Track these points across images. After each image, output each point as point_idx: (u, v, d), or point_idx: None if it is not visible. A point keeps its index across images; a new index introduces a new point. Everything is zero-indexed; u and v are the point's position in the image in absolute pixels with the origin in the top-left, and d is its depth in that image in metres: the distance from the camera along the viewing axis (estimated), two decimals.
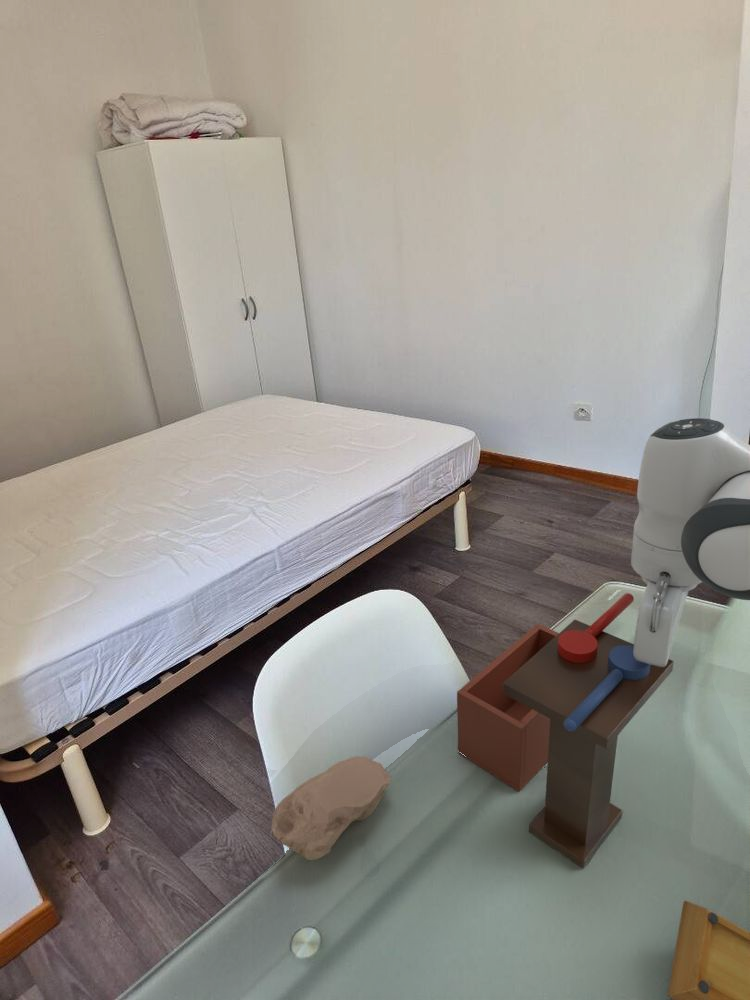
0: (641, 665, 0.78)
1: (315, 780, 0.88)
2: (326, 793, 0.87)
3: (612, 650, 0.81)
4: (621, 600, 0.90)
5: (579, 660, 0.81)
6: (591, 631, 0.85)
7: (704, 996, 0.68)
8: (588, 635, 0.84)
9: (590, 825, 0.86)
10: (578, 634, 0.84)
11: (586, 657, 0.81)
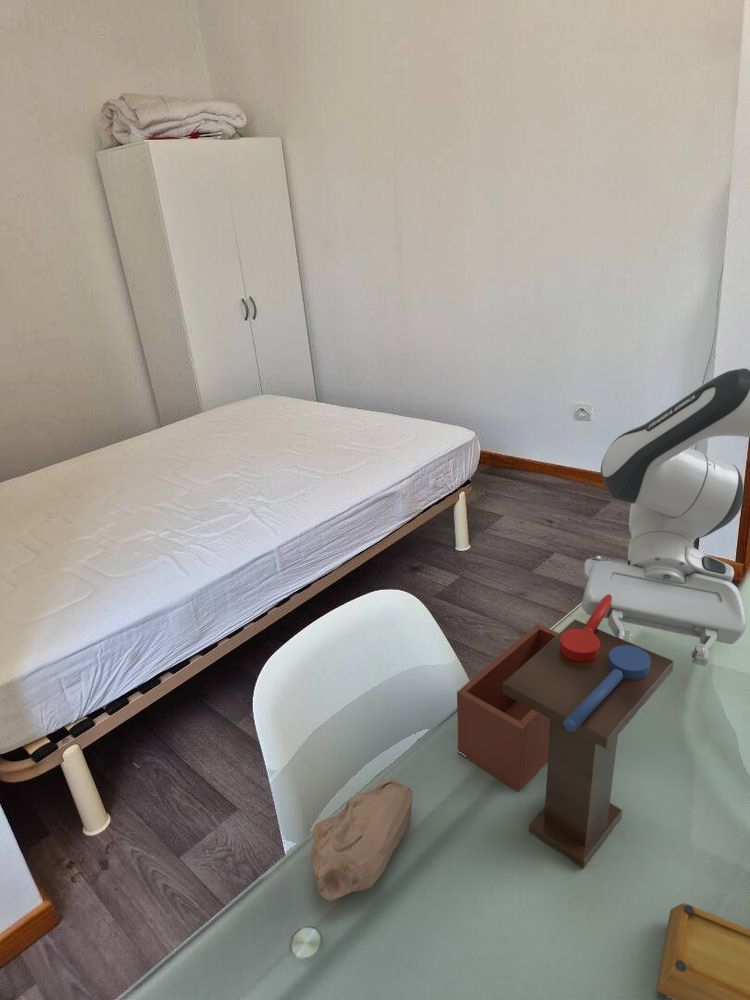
0: (641, 665, 0.78)
1: (379, 851, 0.83)
2: (380, 868, 0.83)
3: (612, 650, 0.81)
4: None
5: (585, 658, 0.81)
6: (589, 628, 0.85)
7: (683, 976, 0.70)
8: (588, 633, 0.84)
9: (590, 825, 0.86)
10: (578, 633, 0.84)
11: (591, 655, 0.81)
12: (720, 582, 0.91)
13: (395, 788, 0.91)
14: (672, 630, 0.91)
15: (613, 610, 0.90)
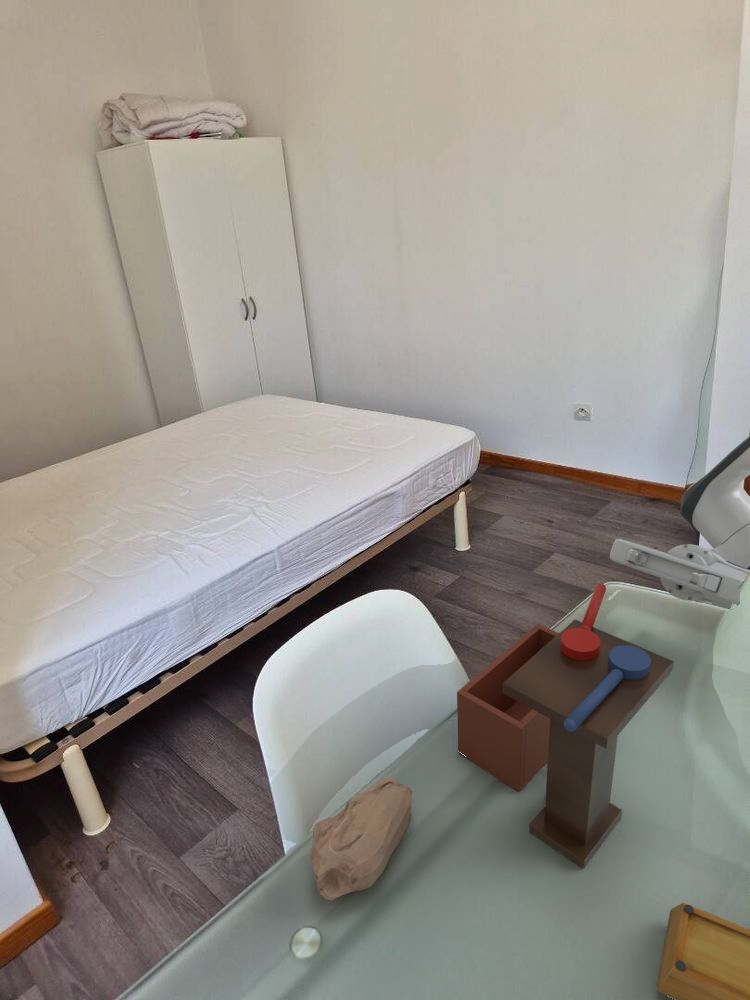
0: (641, 665, 0.78)
1: (378, 850, 0.83)
2: (379, 868, 0.83)
3: (612, 650, 0.81)
4: (598, 591, 0.92)
5: (588, 657, 0.82)
6: (587, 626, 0.85)
7: (683, 976, 0.70)
8: (586, 631, 0.85)
9: (590, 825, 0.86)
10: (577, 632, 0.85)
11: (593, 653, 0.82)
12: (738, 570, 1.02)
13: (394, 788, 0.91)
14: (682, 581, 1.01)
15: (633, 548, 1.05)
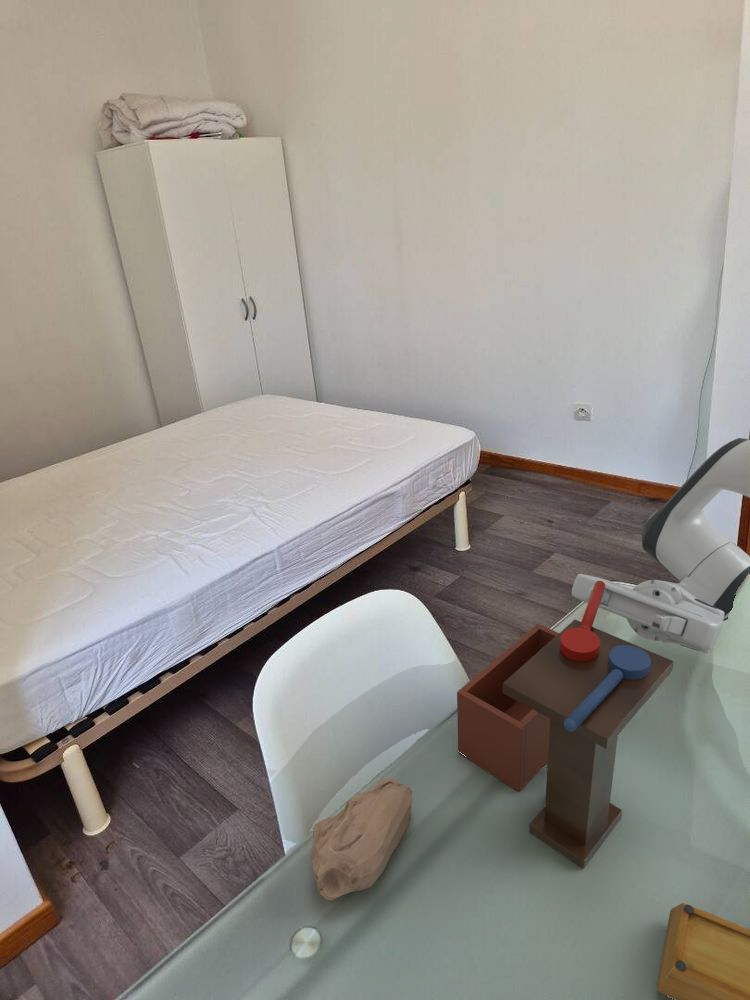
0: (641, 665, 0.78)
1: (378, 850, 0.83)
2: (379, 868, 0.83)
3: (612, 650, 0.81)
4: (597, 589, 0.92)
5: (588, 658, 0.81)
6: (586, 626, 0.85)
7: (683, 976, 0.70)
8: (586, 631, 0.84)
9: (590, 825, 0.86)
10: (576, 632, 0.84)
11: (593, 654, 0.82)
12: (706, 610, 0.95)
13: (394, 788, 0.91)
14: (646, 622, 0.94)
15: None
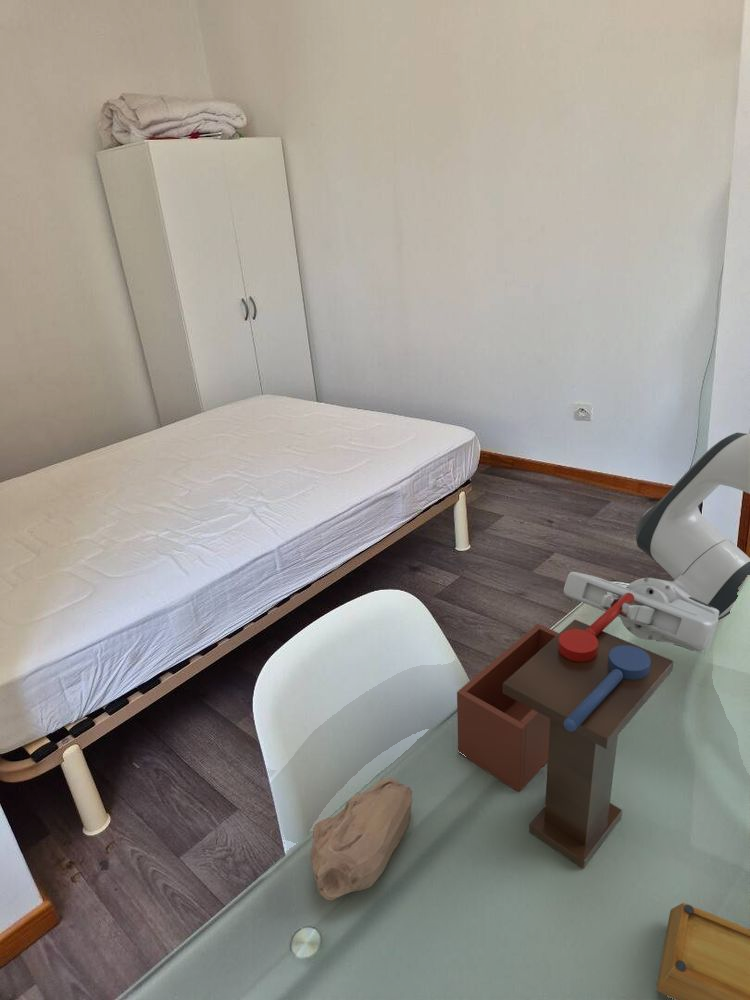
0: (641, 665, 0.78)
1: (378, 850, 0.83)
2: (379, 868, 0.83)
3: (612, 650, 0.81)
4: (622, 599, 0.90)
5: (580, 658, 0.81)
6: (592, 630, 0.85)
7: (683, 976, 0.70)
8: (589, 634, 0.84)
9: (590, 825, 0.86)
10: (579, 633, 0.84)
11: (586, 656, 0.81)
12: (701, 608, 0.93)
13: (394, 788, 0.91)
14: (639, 621, 0.92)
15: (610, 592, 0.94)
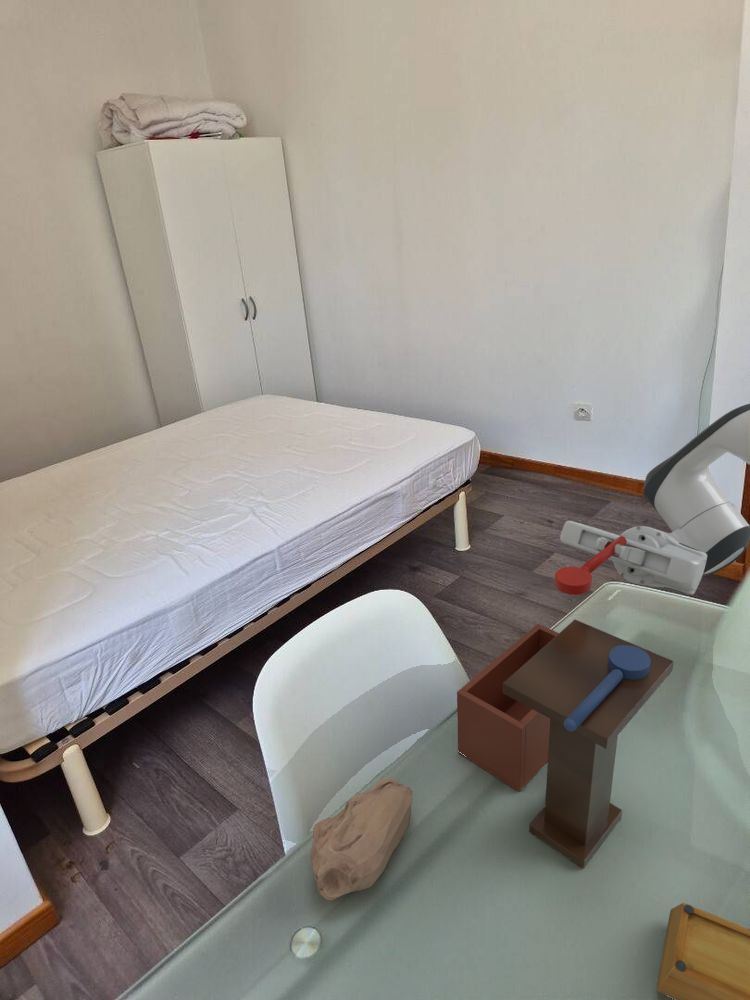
0: (641, 665, 0.78)
1: (378, 850, 0.83)
2: (379, 868, 0.83)
3: (612, 650, 0.81)
4: (615, 542, 0.95)
5: (575, 591, 0.87)
6: (586, 567, 0.90)
7: (683, 976, 0.70)
8: (583, 570, 0.89)
9: (590, 825, 0.86)
10: (574, 570, 0.90)
11: (581, 589, 0.87)
12: (689, 552, 0.98)
13: (394, 788, 0.91)
14: (631, 563, 0.97)
15: (604, 537, 1.00)
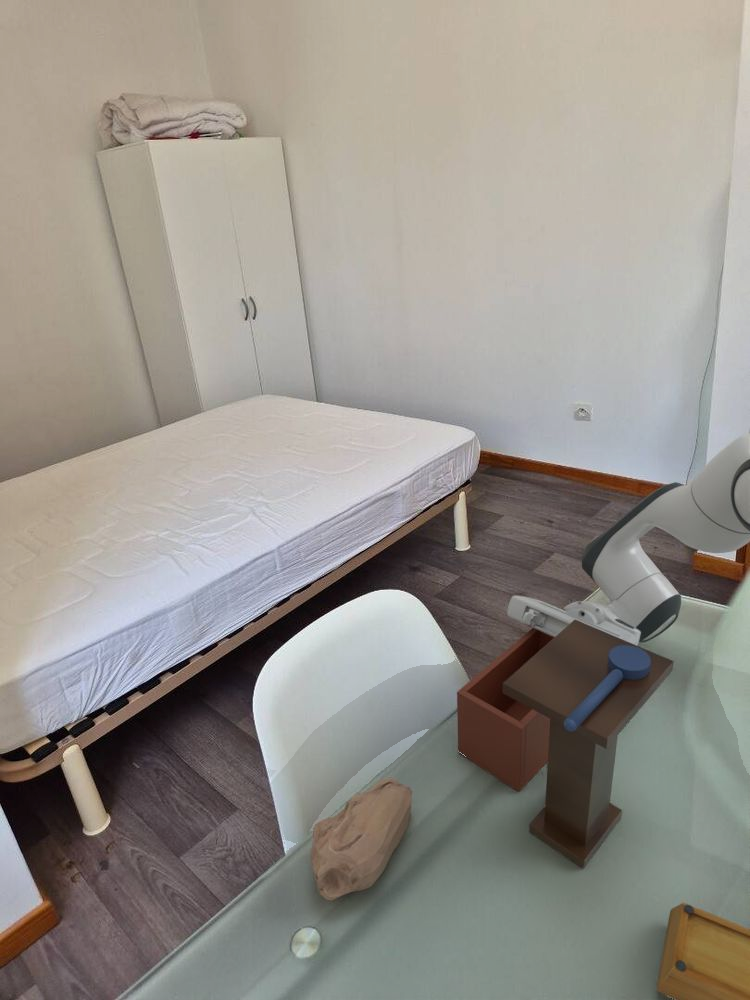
0: (641, 665, 0.78)
1: (378, 850, 0.83)
2: (379, 868, 0.83)
3: (612, 650, 0.81)
4: None
5: None
6: None
7: (683, 976, 0.70)
8: None
9: (590, 825, 0.86)
10: None
11: None
12: (624, 629, 1.06)
13: (394, 788, 0.91)
14: None
15: (533, 609, 1.08)
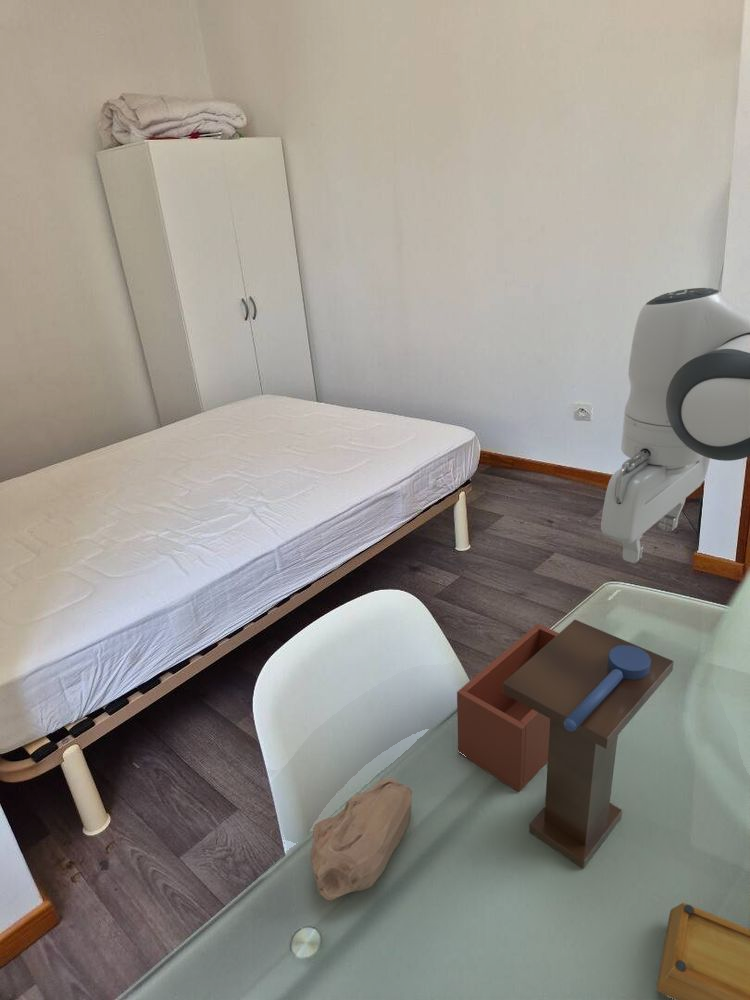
0: (641, 665, 0.78)
1: (378, 850, 0.83)
2: (379, 868, 0.83)
3: (612, 650, 0.81)
4: None
5: None
6: None
7: (683, 976, 0.70)
8: None
9: (590, 825, 0.86)
10: None
11: None
12: None
13: (394, 788, 0.91)
14: None
15: None
